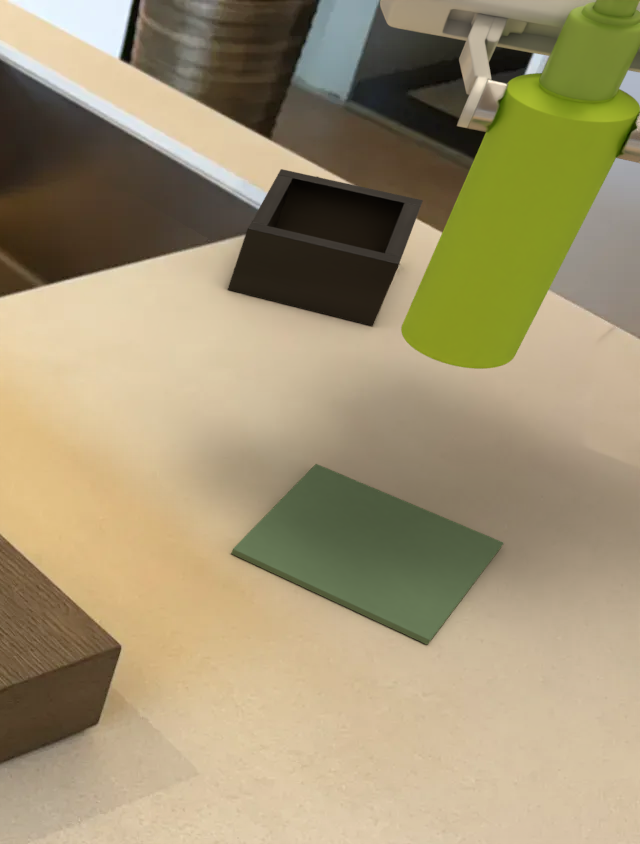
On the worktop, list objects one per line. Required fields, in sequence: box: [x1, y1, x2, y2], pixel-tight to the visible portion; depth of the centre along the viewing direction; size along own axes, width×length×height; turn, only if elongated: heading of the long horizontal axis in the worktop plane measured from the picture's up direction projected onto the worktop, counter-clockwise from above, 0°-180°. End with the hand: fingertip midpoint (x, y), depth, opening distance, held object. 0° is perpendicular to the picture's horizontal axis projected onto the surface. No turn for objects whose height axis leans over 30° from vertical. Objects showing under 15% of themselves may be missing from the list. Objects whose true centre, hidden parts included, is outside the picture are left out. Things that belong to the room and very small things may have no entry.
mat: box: [231, 463, 504, 645], centre depth 83 cm, size 12×12×1 cm
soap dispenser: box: [400, 0, 640, 370], centre depth 67 cm, size 6×7×20 cm
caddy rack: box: [227, 168, 424, 327], centre depth 105 cm, size 12×11×5 cm
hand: (554, 140), depth 66 cm, fingers closed on soap dispenser, 6 cm apart
